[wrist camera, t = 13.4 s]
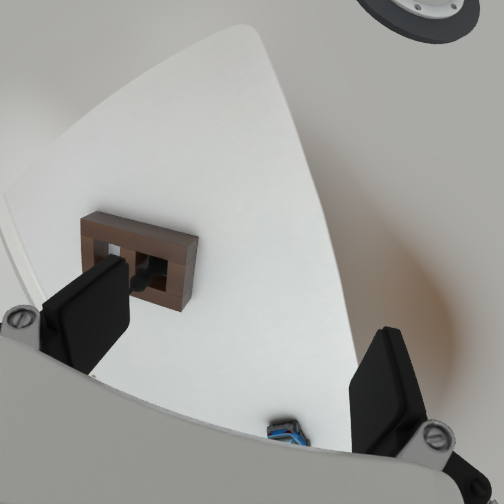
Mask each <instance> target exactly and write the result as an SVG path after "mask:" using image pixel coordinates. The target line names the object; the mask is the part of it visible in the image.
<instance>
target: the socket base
mask: <svg viewBox="0 0 504 504" xmlns="http://www.w3.org/2000/svg"><path fill="white" fill-rule="evenodd" d="M80 224H81V256H82V272H83V273H84V272H86V271H87V270H89V269H90V268H91V267H93V266H94V265H96V264H97V263H98V262H100V261H101V260H103V259H104V258H106V257H107V256H108V243H110V244H114V245H117V246H120V257H123V258H125V259H126V263H128V264H129V288H130V279H131V277H132V276H133V275H136V273H137V272H138V271H139V270H145V269H147V267H148V255H151V256H155V257H158V258H162V259H165V260H168V268H167V276H163V275H154V276H153V277H152V281H151V284H150V285H149V286H148V287H146V289H145V290H144V291H143V292H135V291H133V292H132V293H131V294H130V296H133V297H136V298H139V299H142V300H145V301H148V302H151V303H154V304H157V305H160V306H163V307H166V308H169V309H173V310H176V311H179V312H182V310H183V309H184V307H185V306H186V304H187V303H188V302H189V300H190V299H191V293H192V284H193V276H194V267H195V259H196V252H197V244H198V237H197V236H193V235H189V234H185V233H181V232H177V231H173V230H169V229H165V228H161V227H157V226H153V225H149V224H145V223H141V222H137V221H133V220H129V219H125V218H121V217H117V216H113V215H109V214H105V213H101V212H97V211H96V212H94V213H91V214H89V215H87V216H85V217H83V218H81V219H80Z"/></svg>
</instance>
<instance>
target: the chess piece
mask: <svg viewBox="0 0 504 504" xmlns="http://www.w3.org/2000/svg"><path fill="white" fill-rule="evenodd" d="M167 268H168V260H165V259H162V258H158V257H155V256H151V255H149V258H148V267H147V269H145V270H139V271H138V272H137V273H136V275H133V276H132V277H131V279H130V288H129V295H130V294H131V293H132V292H133V291H135V292H143V291H144V290H145V289H146V287H148V286H149V285H150V284H151V281H152V277H153V276H154V275H167Z"/></svg>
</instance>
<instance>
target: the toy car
mask: <svg viewBox="0 0 504 504" xmlns="http://www.w3.org/2000/svg"><path fill="white" fill-rule="evenodd" d="M267 436H268V439H272V440H277V441H281V442H286V443H292V444H297V445H303V446H309V447H310V442H309V440H306V439H305V437H304V435H303V433H302V432H301V430H300V426H299V423H298V422H297V421H293V422H292V423H289V424H288V423H285V424H282V425H276V426H274V425H269V426H268V427H267Z"/></svg>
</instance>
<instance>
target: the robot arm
mask: <svg viewBox="0 0 504 504" xmlns="http://www.w3.org/2000/svg"><path fill="white" fill-rule="evenodd" d="M391 1H392V2H394V3H395V4H397V5H398V6H399V7H401V8H403V9H405V10H406V11H408V12H410V13H413V14H415V15H417V16H421V17H424V18H429V19H445V18H449V17H451V16H453V15H454V14H456V13H457V12H458V11H459V10H460V9H461V7H462V6H463V2H464V0H391ZM415 8H416V9H415ZM42 307H43V310H41V311H40V312H39V311H38V309H37V308H35V307H34V306H30V305H19V306H15V307H13V308H11V309H10V310H8V311H7V312H6V313H5V315H4V317H3V321H2V323H0V504H498V503H497V501H496V500H495V499H494V500H493V501H492V502H491V500H490V498H491V494H492V488H491V484H490V482H489V480H488V479H487V478H486V477H485V476H484V475H483V474H482V473H481V472H479V471H478V470H477V469H475V468H474V467H473V466H472V465H470V464H469V463H468V462H467V461H465V460H464V459H463V458H461V457H460V456H459V455H458V454H456V453H455V452H454V451H453V449H454V447H455V444H456V441H455V436H454V433H453V431H452V430H451V428H450V427H449V426H447V425H446V424H445V423H443V422H441V421H439V420H434V419H433V420H432V419H431V420H428V419H427V415H426V410H425V406H424V402H423V399H422V395H421V392H420V389H419V385H418V382H417V379H416V376H415V372H414V370H413V366H412V363H411V360H410V357H409V354H408V351H407V348H406V345H405V343H404V340H403V337H402V334H401V331H400V330H399V329H396V328H391V327H386V326H385V327H384V328H383V329H382V330H381V329H379V330H378V331H377V332H376V335H375V336H374V338H373V340H372V342H371V344H370V346H369V348H368V350H367V352H366V354H365V356H364V358H363V360H362V362H361V364H360V365H359V367H358V369H357V371H356V373H355V374H354V376H353V378H352V380H351V382H350V385H349V400H350V416H351V438H352V453H350V452H342V451H335V450H328V449H321V448H315V447H309V446H303V445H297V444H292V443H286V442H281V441H277V440H272V439H267V438H263V437H259V436H255V435H250V434H246V433H242V432H239V431H235V430H231V429H227V428H224V427H220V426H217V425H213V424H210V423H207V422H204V421H200V420H197V419H194V418H191V417H188V416H185V415H182V414H179V413H176V412H173V411H171V410H168V409H165V408H162V407H160V406H157V405H154V404H152V403H149V402H147V401H144V400H142V399H139V398H137V397H134V396H132V395H129V394H127V393H125V392H122V391H120V390H118V389H115V388H113V387H111V386H109V385H107V384H104V383H102V382H100V381H98V380H96V379H94V378H92V377H90V376H88V375H89V373H90V372H91V371H92V370H93V369H94V367H95V366H96V365H97V364H98V362H99V361H100V360H101V359H102V358H103V356H104V355H105V354H106V353H107V352H108V351H109V349H110V348H111V347H112V346H113V345H114V343H115V342H116V341H117V340H118V339H119V338H120V336H121V335H122V334H123V333H124V332H125V331H126V329H127V328H128V326H129V323H130V308H129V264H128V263H126V259H125V258H123V257H120V256H117V255H113V254H110V255H108V256H107V257H106V258H104V259H103V260H101V261H100V262H98V263H97V264H96V265H94V266H93V267H91V268H90V269H89V270H87V271H86V272H84V273H83V274H82V275H80V276H79V277H78V278H76V279H75V280H74V281H72V282H71V283H69V284H68V285H67V286H65V287H64V288H63V289H61V290H60V291H59V292H58V293H56V294H55V295H54V296H52V297H51V298H50V299H48V300H47V301H46V302H45V303H43V304H42Z"/></svg>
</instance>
